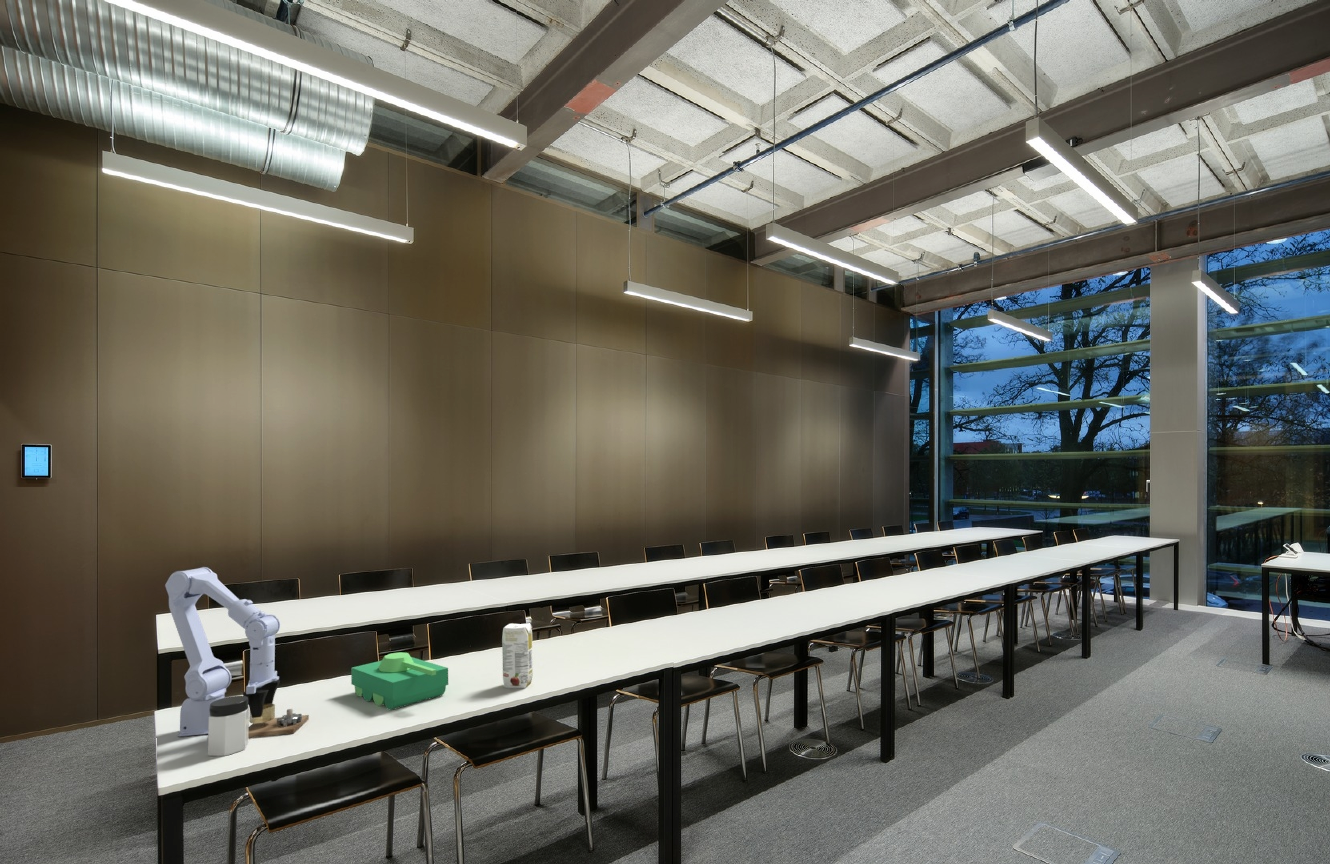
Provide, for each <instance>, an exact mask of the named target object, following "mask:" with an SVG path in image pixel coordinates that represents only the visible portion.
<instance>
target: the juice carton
mask: <svg viewBox="0 0 1330 864" xmlns="http://www.w3.org/2000/svg"><path fill="white" fill-rule="evenodd" d="M501 643H502V647H501V648H502V651H501V652H502V655H501V656H502V682H503V687H504V689H526V688H527V687H528V686H529V685H531V683H532V681H533V674H534V671H533V670H534V667H533V665H534V663H533V662H534V661H533V659H534V658H533V630H532V624H531V623H530V622H529V623H528V622H527V623H521V624H520V623H508V624H507V625H505V626H504V627H503V629H502V638H501Z"/></svg>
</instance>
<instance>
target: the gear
mask: <svg viewBox="0 0 1330 864" xmlns="http://www.w3.org/2000/svg"><path fill="white" fill-rule="evenodd" d="M279 717H280V718H279ZM279 717H276V718H277V726H278V727H279V726H283V727H287V726H290V725H296V724H297V723H299V722H302V713H296V712H295V713H293V717H291V718H287V714H284V715H282V716H279Z"/></svg>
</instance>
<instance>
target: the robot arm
mask: <svg viewBox="0 0 1330 864" xmlns="http://www.w3.org/2000/svg"><path fill="white" fill-rule="evenodd" d="M164 587H165V589H166V592H167V595H168V608H169V611H170V614H171V617H172V619H173V622H174V625H175V628H176V631H177V633H178V636H179V640H180V642H181V644H182V647H183V650H184V653H185V657H186V658H187V661H188V663H189V668H188V669H187V671H186V673H185V675H184V676H183V677H184V681H185V693H186V695H187V698H186V699H185V700H184V701H183V702H182V704H181V707H180V713H179V714H180V715H179V733H178V736H177V737H187V736H189V737H190V736H198V735H199V736H200V735H208V728H209V716H210V711H209V709H210V704H211V703H212V702H214V701H216V700H219V699H222V698H225V693H227V689H228V687H229V686H230V685H231V683H232V674H231V671H230V670H229V669H228V668H227V667H226V665H225V663H224V662H223V661H222V659H219V658H216V657H215V656H214V653H213V652H212V648H211V645H210V643H209V641H208V638H207V635H206V632H205V629H204V627H203V624H202V621H201V618H200V616H199V613H198V610H197V607H196V604H197V602H198V600H199V599H200V598H201V596H203V595H206V596H208V597H210V598H211V599H212V600H214V601H216V603H218V604H219V605H221V606H222V607H224V608H226V610H227V611H228V612H227V616H228V617H229V618H231V619H232V620H233V621H234V622H235V623H237V624H238V625H239V626H240V627H241V628H243V630H244V634H245V636H246V638H247V639H248V645H249V647H250V649H249V650H250V651H249V652H250V654H249V655H250V657H249V658H250V659H249V660H250V661H249V680H248V684H247V685H246V686H245V691H243V692H242V696H247V697H248V706H249V713H250V712H251V715H252V718H256V717H261V716H262V713H263V706H264V704H266V703H272V704H274V699H275V695H276V692H277V689H278V688H279V685H280V684H281V680H280V676H278V671H277V670H275V663H276V662H275V657H276V655H275V653H276V651H275V650H276V647H275V646H276V640H275V639H276V634H278V632H279V631H280V628H281V624H280V621H279V618H277V616H276V615H274V614H267V613H266V612H264V611H262V610H261V609H259V608H258V607H256V605H255V604H254V602H253V601H252V600H251V599H246V598H244V599H240V598H239V597H237V596H236V595H235V594H234V593H233V592H232V591H231V590H230V589H228V588H227V587H226V586H225V585H224V584H223V583H222V582H221V581H220V580H219V578H218V574H217V573H215V572H214V571H212V569H210V568H209V567H206V566H202V567H199V568H194V569H192V568H191V569H186V570H177V571H174V572H173V573H171V575H170V576H169V577H168V579H167V581H166V583H165V585H164Z"/></svg>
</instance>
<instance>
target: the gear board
mask: <svg viewBox="0 0 1330 864" xmlns="http://www.w3.org/2000/svg"><path fill="white" fill-rule="evenodd" d="M293 711H294V710H293V708H288V709H287V710H286V715H287V718H291V717H293ZM280 717H281V716H279V717H275V718H273V719H272V720H271V721H267V722H264V723H256V724H253V723H251V725H249V732H248V739H252V738H261V736H264V737H270V736H269V735H275V736H278V735H277V734H285V735H294V734H295V733H297V731H298V730H300V728H301V727H302V726H304V725H305V723H307V722H308V721H309V717H310V716H309V714H305V715H302V722H299V723H297V724H296V725H290V726H287V727H283V726H279V727H278V726H277V718H280Z"/></svg>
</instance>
